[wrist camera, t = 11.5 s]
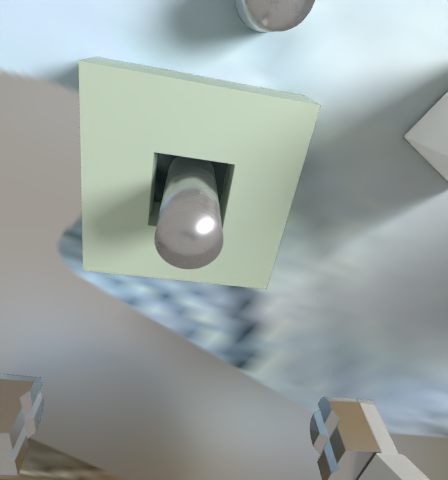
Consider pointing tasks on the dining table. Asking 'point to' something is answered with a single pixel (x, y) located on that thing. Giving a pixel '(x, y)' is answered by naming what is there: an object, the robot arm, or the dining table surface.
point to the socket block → (193, 146)
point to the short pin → (273, 13)
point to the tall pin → (189, 215)
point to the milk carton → (433, 136)
